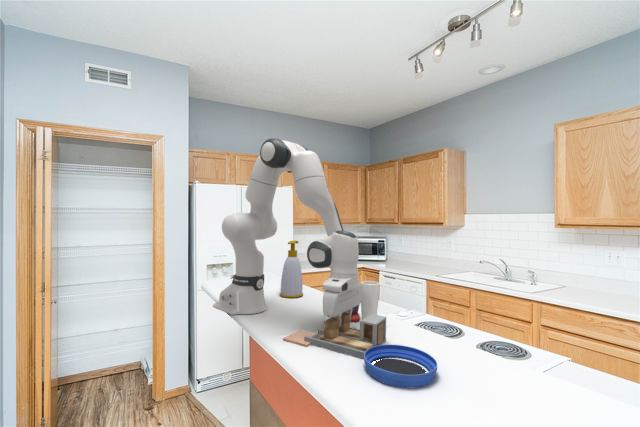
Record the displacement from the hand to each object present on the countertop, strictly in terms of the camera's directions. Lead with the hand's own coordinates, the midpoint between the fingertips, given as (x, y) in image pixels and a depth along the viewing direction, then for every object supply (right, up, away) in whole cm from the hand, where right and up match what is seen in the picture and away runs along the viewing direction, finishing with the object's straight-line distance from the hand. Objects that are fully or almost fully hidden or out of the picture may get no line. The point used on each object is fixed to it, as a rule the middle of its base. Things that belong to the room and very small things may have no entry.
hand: (343, 324), depth 107 cm
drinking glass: (+10, -5, +13) cm, 17 cm away
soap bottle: (-21, -4, +52) cm, 56 cm away
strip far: (+4, -4, -3) cm, 6 cm away
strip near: (0, -4, -9) cm, 10 cm away
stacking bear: (+3, -4, +20) cm, 21 cm away
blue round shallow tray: (+13, -5, -23) cm, 27 cm away
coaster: (-13, -4, -3) cm, 14 cm away
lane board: (0, -4, -5) cm, 6 cm away
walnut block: (+8, -2, -5) cm, 10 cm away
